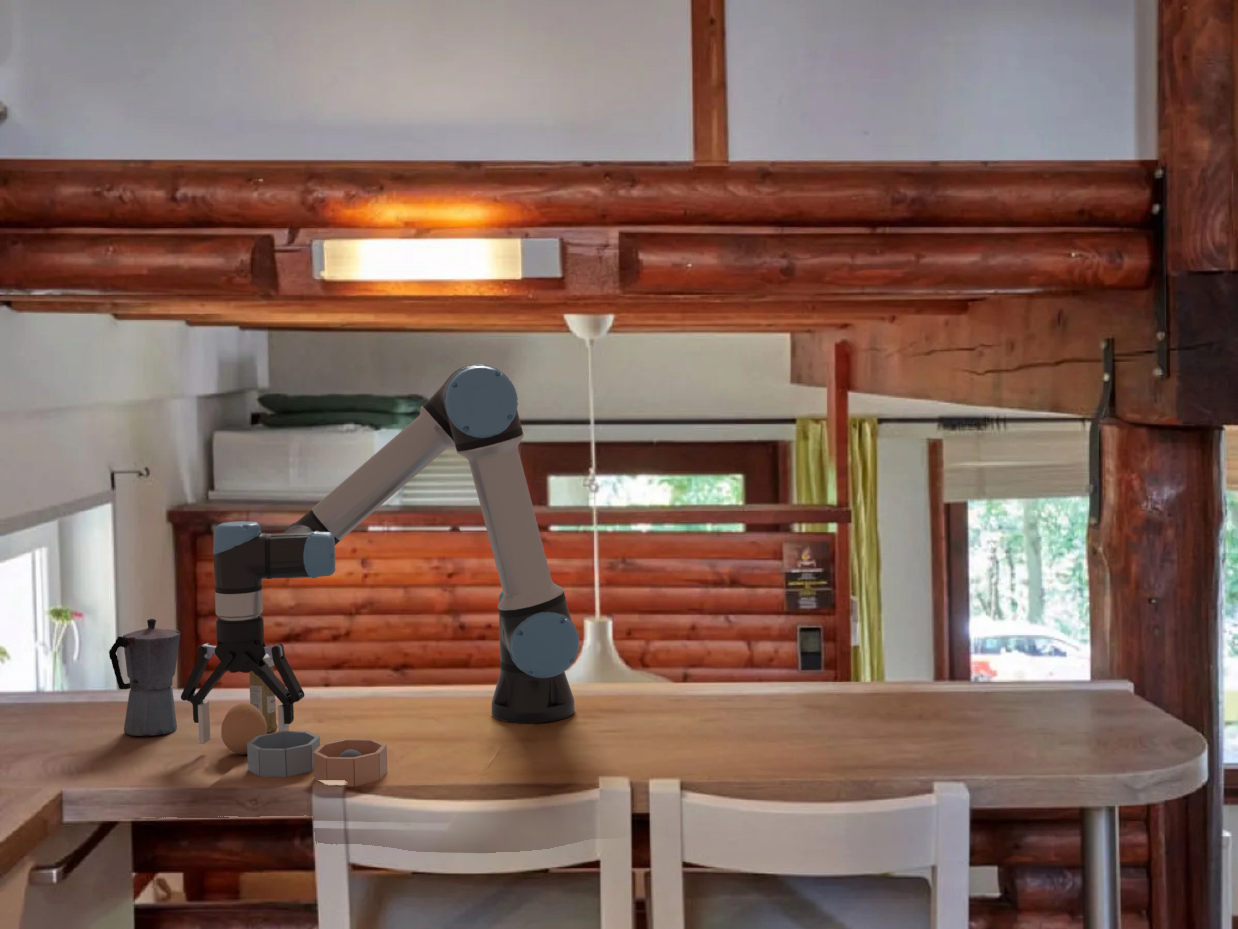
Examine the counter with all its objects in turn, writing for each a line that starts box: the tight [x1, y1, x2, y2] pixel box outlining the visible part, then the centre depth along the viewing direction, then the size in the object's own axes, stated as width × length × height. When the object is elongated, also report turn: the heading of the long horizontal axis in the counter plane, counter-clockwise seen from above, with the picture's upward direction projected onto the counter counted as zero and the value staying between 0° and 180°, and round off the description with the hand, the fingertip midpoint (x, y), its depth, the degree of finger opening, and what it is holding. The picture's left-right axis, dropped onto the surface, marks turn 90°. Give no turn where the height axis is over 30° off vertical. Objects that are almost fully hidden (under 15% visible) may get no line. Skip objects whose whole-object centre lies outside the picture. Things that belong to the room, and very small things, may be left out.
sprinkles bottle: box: [248, 654, 278, 734], centre depth 235 cm, size 5×5×14 cm
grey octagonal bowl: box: [247, 730, 321, 778], centre depth 211 cm, size 10×10×5 cm
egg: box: [220, 702, 268, 756], centre depth 221 cm, size 7×7×8 cm
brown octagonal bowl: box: [313, 738, 388, 787], centre depth 206 cm, size 10×10×5 cm
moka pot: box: [108, 618, 182, 737], centre depth 234 cm, size 10×15×20 cm, turn 155°
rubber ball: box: [339, 749, 362, 757], centre depth 206 cm, size 4×4×4 cm
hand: (244, 742), depth 221 cm, fingers open, 13 cm apart
